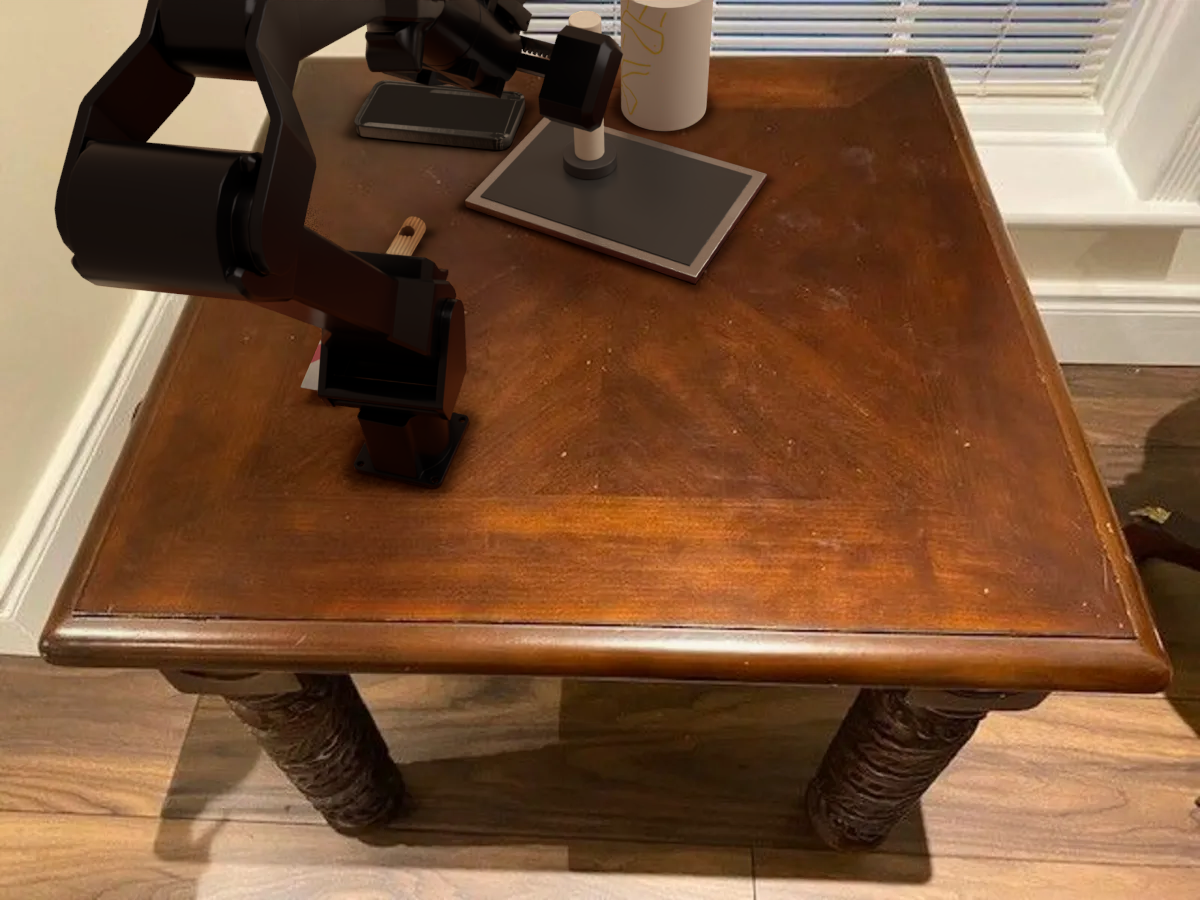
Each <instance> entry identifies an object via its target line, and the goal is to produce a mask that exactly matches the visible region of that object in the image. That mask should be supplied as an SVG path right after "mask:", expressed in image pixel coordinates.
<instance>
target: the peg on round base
mask: <svg viewBox="0 0 1200 900" xmlns="http://www.w3.org/2000/svg"><path fill="white" fill-rule="evenodd" d="M567 23H568V25H569V26H573V27H577V28H581V29H585V30H589V31H593V32H597V33H601V34H603V33H602V32H603V31H602V17H601V15H600V14H599V13H597V12H595V11H592V10H581V11H576V12H574V13H572V14H571V15H570V16H569V17H568V21H567ZM604 122H605V121H604V118H603V121H602V124H601V127H599V128H597V129H596V130H594V131H593V132H588V131H585V130H581V129H578V128H574V140H573V141H571V142H569V143H568V144H567V145H566V146H565V148H564V150H563V166H564V169H565V170H566V172H567V173H569V174H570V175H571V176H573V177H576V178H579V179H585V180H594V179H599V178H603V177H605V176H607V175H609V174H610V173H612V172H613V171H614V169H615V168H616V165H617V150H616V148H615V146H614V145H613V144H612V143H611V142H610V141H608V140H606V139H604V126H605V123H604Z"/></svg>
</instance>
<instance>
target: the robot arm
mask: <svg viewBox="0 0 1200 900" xmlns="http://www.w3.org/2000/svg"><path fill="white" fill-rule="evenodd" d="M527 1H528V0H147V3H146V7H145V10H144V15H143V18H142V23H141V25H140V30H139V34H138V35H137V37H136V38H135V40H134V41H133V42H132V43H131V44H130V45H129V46H128V47H127V48H126V49H125V50H124V51H123V53H122V54H121V55H120V56H119V57H118V58H117V59H116V61H115V62H113V64H111V66H110V67H109V68H108V70H106V71H105V72H104V74H103V75H102V76H101V77H100V78H99V79H98V81H97V82H95V84H94V85H93V86H92V87H90V88H91V89H89V91H88V92H87V93H85V95H83V98H82V100H81V102H80V103H79V105H78V109H77V113H76V117H75V120H74V125H73V127H72V131H71V135H70V138H69V143H68V147H67V149H66V154H65V158H64V162H63V166H62V168H61V169H62V170H61V173H60V175H59V176H60V177H59V180H58V184H57V188H56V192H55V199H54V201H55V202H54V207H53V208H54V217H55V218H54V219H55V224H56V229H57V231H58V234H59V235H60V238H61V242H62V243H63V244H64V245H65V246H66V248H68V250H69V251H70V252H71V253H72V254H73V255H72V257H71V259H70V263H71V266H72V267H73V269H74V270H75V271H76V272H77V273H78V274H79V276H80V277H81V278H82V279H84V280H85V281H87V282H89V283H91V284H93V285H94V286H96V287H104V288H105V287H106V288H113V289H122V290H123V289H125V290H134V291H142V292H143V291H144V292H154V293H162V294H171V295H181V296H190V297H191V296H192V297H201V298H210V299H220V300H227V301H228V300H230V301H239V302H247V303H250V304H252V305H255V306H258V307H261V308H264V309H266V310H269V311H272V312H275V313H278V314H280V315H283V316H286V317H288V318H290V319H294V320H297V321H299V322H301V323H305V324H308V325H311V326H313V327H316V328H318V329H321V331H320V332H321V338H320V340H321V350H320V364H319V378H318V390H317V391H316V392H317V397H318V398H319V399H320V400H321V402H323V404H324V405H325V406H326V407H332V408H335V407H341V408H342V407H343V408H352V409H358V413H357V416H356V417H357V421H358V423H359V427H360V430H361V433H362V437H363V439H364V443H363V444H362V447H361V448H360V450H359V453H357V456H356V458H355V460H354V462H353V468H354V471H355V472H356V473H359V474H362V475H366V476H367V475H368V476H372V477H377V478H382V479H386V480H392V481H395V482H396V481H397V482H401V483H406V484H411V485H415V486H420V487H425V488H430V489H439V488H440V487H442V485H444V482H445V480H446V478H447V475H448V473H449V470H450V469H451V467H452V464H453V461H454V459H455V457H456V455H457V453H458V450H459V448H460V446H461V444H462V441H463V439H464V437H465V435H466V433H467V431H468V428H469V426H470V418H469V416H468V415H467V414H464V413H458V412H454V410H455V407H456V403H457V401H458V398H459V397H458V396H459V394H460V392H461V388H462V386H463V382H464V380H465V377H466V374H467V371H468V369H467V368H468V364H467V339H466V337H467V336H466V313H465V311H466V310H465V305H464V303H463V301H462V299H459V298H457V291H456V289H455V287H454V285H452V283H451V282H450V281H449V280H448V276H449V269H448V268H439V266H438V265H437V263H435V261H433V260H431V259H429V258H427V257H426V256H417V255H416V256H415V255H411V256H406V255H395V254H386V252H384V253H383V252H373V251H365V250H364V251H363V250H354V249H353V250H352V249H346V248H344V247H343V246H341V245H339V244H337V243H336V242H334V241H332V240H331V239H329V238H327V237H326V236H324V235H322V234H320V233H319V232H317V231H316V230H314V229H312V228H310V227H309V226H307V225H306V224H305V223H306V219H307V214H308V209H309V204H310V200H311V194H312V191H313V190H312V189H313V186H314V185H313V184H314V180H315V176H316V170H317V157H316V154H315V152H314V149H313V147H312V143H311V141H310V137H309V135H308V133H307V130H306V128H305V125H304V123H303V120H302V117H301V114H300V112H299V108H298V106H297V104H296V101H295V98H294V94H293V92H294V87H295V82H296V78H297V74H298V69H299V65H300V62H301V61H303V60H304V59H306V58H308V57H310V56H312V55H314V54H315V53H318V52H319V51H321V50H322V49H324V48H326V47H328V46H329V45H332V44H334V43H336V42H337V41H339V40H341V39H342V38H345V37H347V36H348V35H349V34H350V35H351V34H352V33H354V32H356V31H357V30H359V29H361V28H363V27H365V26H366V32H365V34H364V39H365V53H364V57H365V61H366V64H367V68H368V70H369V71H370V72H371V73H382V74H384V75H387V76H391V77H394V78H397V79H401V80H404V81H407V82H414V83H419V84H423V85H426V86H437V85H447V86H456V87H460V88H463V89H467V90H471V91H474V92H478V93H481V94H485V95H488V96H492V97H496V98H499V99H501V96H502V93H503V91H505V90H504V89H505V85H506V82H507V83H508V82H509V81H510V80H511V79H512V78H513V77H514V75H515V73H516V72H520V73H523V74H527V75H531V76H535V77H539V78H543V79H542V80H543V81H542V85H541V88H540V91H539V94H538V111H539V115H540V116H542V117H543V118H544V117H545V118H547V119H549V120H550V121H554V122H557V123H560V124H563V125H567V126H571V127H574V128H578V129H581V130H585V131H588V132H593V131H594V130H596V129H597V128H599V127H601V124H602V121H603V118H604V117H605V115H606V112H607V108H608V105H609V102H610V99H611V96H612V95H611V94H612V92H613V89H614V85H615V82H616V79H617V76H618V73H619V69H620V67H621V60H622V56H623V53H622V51H621V45H620V44H619V43H618V42H617V41H616V40H615V39H614V38H613V37H612V36H611V35H609V34H605V33H602V34H601V33H597V32H593V31H589V30H585V29H581V28H577V27H573V26H569V24H566V25H565V26H564V27H562V29H561V30H560V31H558V33H557V34H556V37H555V41H554V43H552V42H548V41H545V40H540V39H537V38H533V37H529V36H525V35H521V33H522V32H524V33H527V32H528V29H529V27H530V23H531V20H532V16H533V14H532V12H530V11H529V10H528V9H527V8H526V7H525V6H524V4H525V3H526V2H527ZM536 55H537V56H536ZM546 58H547V59H546ZM197 78H201V79H204V78H205V79H217V80H230V81H242V82H256V84H257V86H258V89H259V91H260V94H261V96H262V100H263V103H264V106H265V108H266V110H267V113H268V116H269V123H268V124H269V125H268V129H267V132H266V139H265V142H264V147H263V150H262V151H263V152H261V151H255V150H243V149H242V150H241V149H232V148H221V147H207V146H197V145H184V144H171V143H161V142H150V141H149V140H151V138H152V137H153V136H154V134H155V133H157V131H158V130H159V129H160V128H161V127H162V125H163V124H164V123H165V122H166V121H168V119H169V118H170V116H171V115H173V113H174V112H175V111H176V110H177V108H178V107H179V106H180V105H181V104H182V103H183V102H184V101H185V100H186V98H187V97H188V96H189V95H190V94H191V92H192V90H193V88H194V86H195V83H196V79H197ZM361 465H362V466H361Z"/></svg>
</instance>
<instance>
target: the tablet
mask: <svg viewBox="0 0 1200 900" xmlns="http://www.w3.org/2000/svg"><path fill="white" fill-rule="evenodd" d="M604 139H606V140H608V141H610V142H611V143H612V144H613V145H614V146H615V148H616V150H617V165H616V168H615V169H614V171H613V172H612V173H610V174H609V175H607V176H605V177H603V178H599V179H594V180H585V179H579V178H576V177H573V176H571V175H570V174H569V173H567V172H566V170H565V169H564V166H563V150H564V148H565V146H566V145H567V144H568V143H569V142H571V141H573V140H574V127H571V126H567V125H563V124H560V123H557V122H554V121H550V120H549V119H547V118H545V117H543V118H542V119H541V120H540V121H539V122H537V124H536V125H535V126H534V127H533V128H532V129H531V130H530V131H529V132H528V134H527V135H526V136H524V137H523V139H522V140H521V141H519V143H518V144H517V145H516V146H515V147H514V148H513V149H512V150H511V151H510V152H509V153H508V155H506V156H505V158H503V160H502V161H501V162H500V163H499V164H498V165H497V166H496V167H495V168H494V169H493V170H492V171H491V172H490V173H489V175H487V176H486V178H485V179H484V180H483V181H481V183H480V184H479V185H478V186H476V188H475V189H474V190H473V191H472V192H471V193H470V195H468V196H467V198H465V200H464V204H465V207H466V208H467V209H470V210H473V211H476V212H480V213H482V214H485V215H488V216H491V217H494V218H497V219H500V220H503V221H506V222H509V223H512V224H515V225H517V226H520V227H524V228H527V229H530V230H533V231H535V232H539V233H541V234H545V235H547V236H551V237H553V238H556V239H560V240H563V241H566V242H569V243H571V244H574V245H577V246H581V247H584V248H586V249H589V250H593V251H596V252H599V253H600V254H601V253H602V254H604V255H608V256H610V257H614V258H616V259H620V260H623V261H625V262H628V263H631V264H634V265H638V266H640V267H643V268H646V269H649V270H653V271H655V272H657V273H661V274H663V275H667V276H669V277H673V278H675V279H679V280H682V281H684V282H688V283H691V284H694V285H696V284H697V282H698V281H699V280H700V278H701V277H702V275H703V273H704V272H705V271H706V270H707V268H708V266H709V265H710V263H711V262H712V260H714V258H715V256H716V255H717V253H718V252H719V250H720V249H721V248H722V247H723V245H724V243H725V242H726V240H727V239H728V237H729V236H730V234H731V233H732V231H733V230H734V229H735V227H736V226H737V224H738V223H739V222H740V220H741V219H742V217H743V215H744V214H745V212H747V210H748V208H749V206H750V205H751V204H752V202H753V201H754V200H755V198H756V197H757V195H758V194H759V192H760V191H761V189H762V188H763V186H764V185H765V184H766V182H767V178H768V174H767V173H766V172H762V171H758V170H755V169H752V168H748V167H745V166H741V165H739V164H734V163H731V162H728V161H725V160H721V159H718V158H715V157H711V156H707V155H704V154H701V153H698V152H693V151H691V150H686V149H683V148H680V147H677V146H673V145H670V144H668V143H667V144H666V143H663V142H660V141H656V140H653V139H649V138H646V137H642V136H639V135H635V134H632V133H629V132H625V131H621V130H618V129H615V128H612V127H608V126H605V125H604Z"/></svg>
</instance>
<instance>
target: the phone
mask: <svg viewBox="0 0 1200 900" xmlns="http://www.w3.org/2000/svg"><path fill="white" fill-rule="evenodd" d="M525 111H526V99H525V95H524V94H523V93H522V92H520V91H513V90H503V93H502V96H501V99H499V98H496V97H492V96H488V95H485V94H481V93H478V92H474V91H471V90H467V89H463V88H460V87H456V86H453V85H437V86H426V85H423V84H419V83H416V82H411V81H402V80H391V79H385V80H383V79H382V80H380V81H377V82H376V83H375V84H373V86H372V88H371V89H370V91H369V93H368V94H367V97H366V98H365V100H364V102H363V104H362V105H361V107H360V109H359V110H358V112H357V114H356V116H355V118H354V125H355V126H354V127H355V129H356V133H357V135H359V136H361V137H363V138H374V139H383V140H393V141H403V142H414V143H422V144H432V145H434V144H435V145H444V146H454V147H465V148H473V149H474V148H475V149H484V150H495V151H501V150H505V149H507V148H509V147H510V146H511V145H512V143H513V141H514V138H515V136H516V133H517V131H518V128H519V126H520V124H521V121H522V119H523V116H524V114H525Z"/></svg>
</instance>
